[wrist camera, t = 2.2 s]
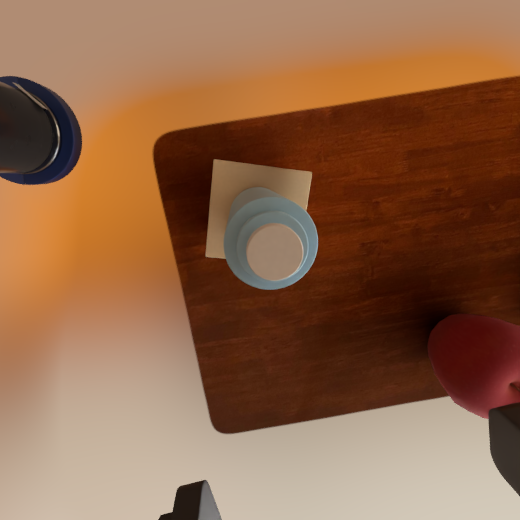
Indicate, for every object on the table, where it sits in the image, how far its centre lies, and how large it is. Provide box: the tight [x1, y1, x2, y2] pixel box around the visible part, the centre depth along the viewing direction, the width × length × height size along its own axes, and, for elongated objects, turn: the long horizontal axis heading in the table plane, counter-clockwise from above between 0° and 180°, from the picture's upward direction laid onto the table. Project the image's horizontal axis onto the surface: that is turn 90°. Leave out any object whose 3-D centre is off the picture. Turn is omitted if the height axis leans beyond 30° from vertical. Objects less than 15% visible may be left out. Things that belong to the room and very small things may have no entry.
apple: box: [428, 313, 520, 419], centre depth 40 cm, size 12×12×13 cm
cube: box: [205, 159, 312, 259], centre depth 35 cm, size 9×9×10 cm
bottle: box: [223, 187, 318, 290], centre depth 23 cm, size 5×5×15 cm
